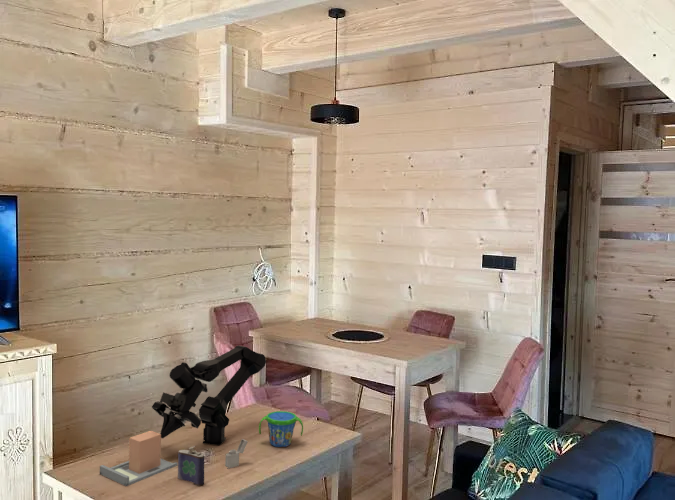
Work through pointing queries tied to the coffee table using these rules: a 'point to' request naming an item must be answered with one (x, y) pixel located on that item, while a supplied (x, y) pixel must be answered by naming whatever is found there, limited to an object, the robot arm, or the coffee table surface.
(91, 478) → the coffee table surface
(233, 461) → the lighter
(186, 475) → the flask
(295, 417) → the snack cup
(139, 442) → the terracotta block
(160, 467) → the slate lane
